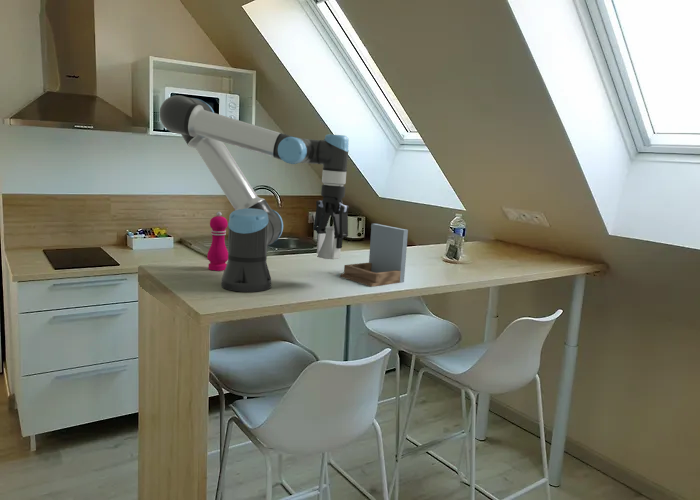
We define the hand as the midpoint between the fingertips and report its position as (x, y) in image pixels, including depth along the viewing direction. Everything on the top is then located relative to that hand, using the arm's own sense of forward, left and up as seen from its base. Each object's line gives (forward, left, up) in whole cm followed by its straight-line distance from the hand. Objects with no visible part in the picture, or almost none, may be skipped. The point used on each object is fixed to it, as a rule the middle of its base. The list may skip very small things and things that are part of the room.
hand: (328, 255), depth 187 cm
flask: (0, 0, -1) cm, 1 cm away
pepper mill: (-21, +35, -10) cm, 42 cm away
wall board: (+25, -1, -9) cm, 27 cm away
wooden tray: (+18, -1, -9) cm, 20 cm away
